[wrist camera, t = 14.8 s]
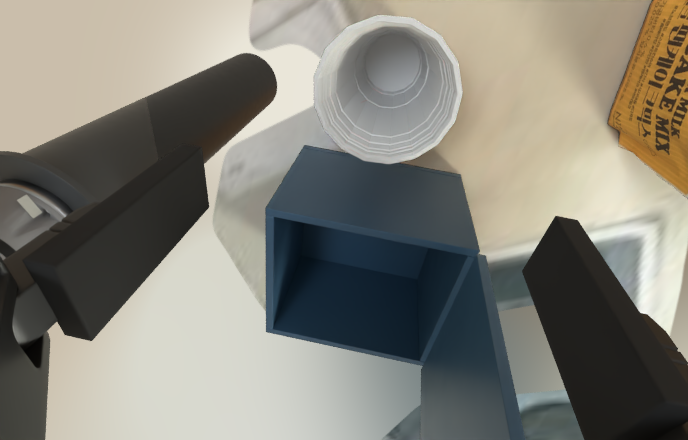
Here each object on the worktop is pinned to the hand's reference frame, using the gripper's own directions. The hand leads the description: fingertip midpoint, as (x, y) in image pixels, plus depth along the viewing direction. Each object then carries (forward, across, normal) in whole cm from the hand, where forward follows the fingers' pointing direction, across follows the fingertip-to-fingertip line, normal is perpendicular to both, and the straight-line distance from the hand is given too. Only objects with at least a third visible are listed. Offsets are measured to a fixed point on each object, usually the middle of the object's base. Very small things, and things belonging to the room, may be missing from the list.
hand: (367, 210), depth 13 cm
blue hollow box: (+26, +1, -19) cm, 33 cm away
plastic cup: (+27, 0, 0) cm, 27 cm away
